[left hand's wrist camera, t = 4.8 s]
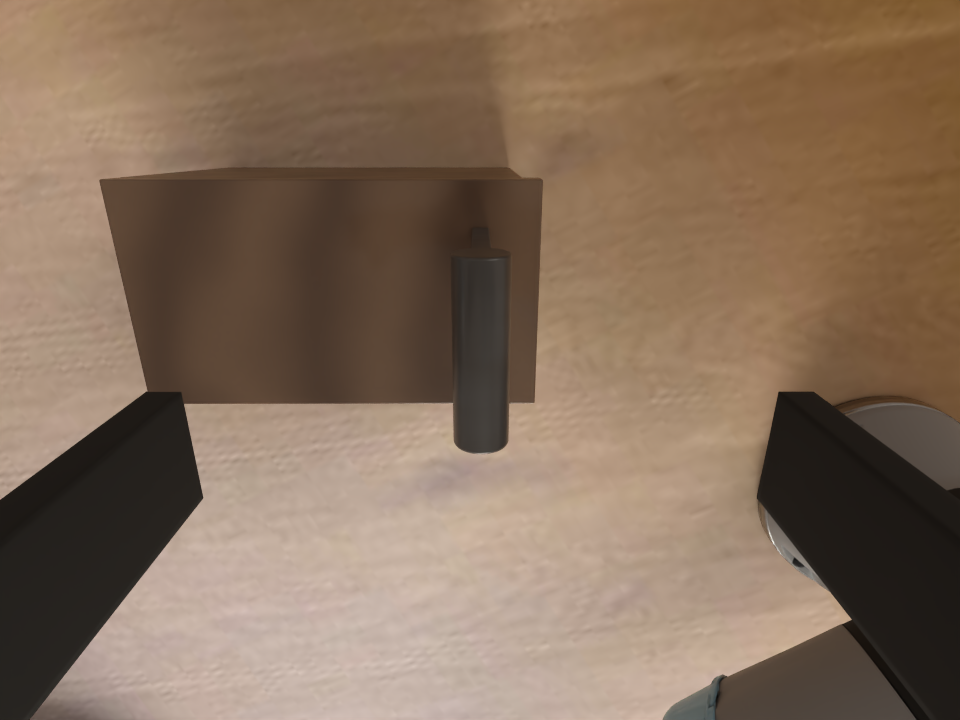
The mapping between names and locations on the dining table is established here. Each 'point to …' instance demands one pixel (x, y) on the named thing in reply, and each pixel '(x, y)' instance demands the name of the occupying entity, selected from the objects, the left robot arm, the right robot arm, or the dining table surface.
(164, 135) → the dining table surface
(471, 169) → the chest
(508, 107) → the dining table surface
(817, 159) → the dining table surface
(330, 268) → the lid
